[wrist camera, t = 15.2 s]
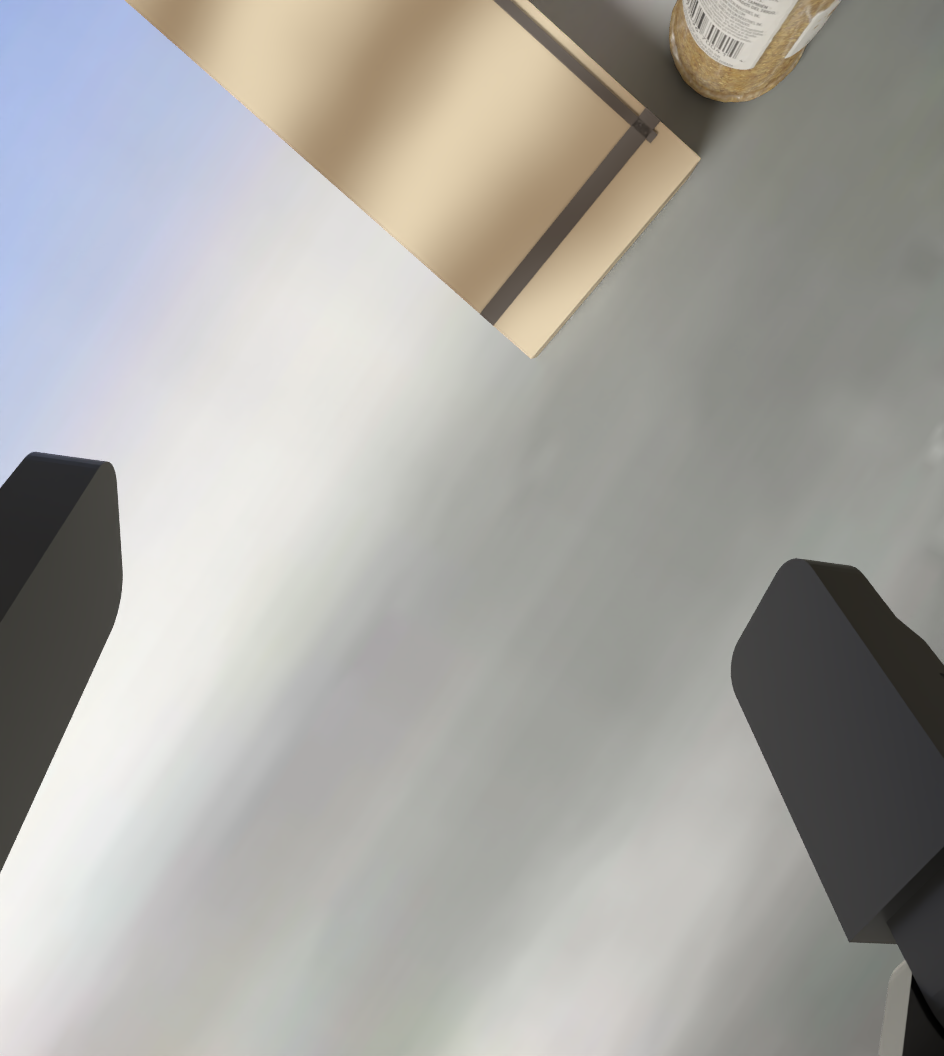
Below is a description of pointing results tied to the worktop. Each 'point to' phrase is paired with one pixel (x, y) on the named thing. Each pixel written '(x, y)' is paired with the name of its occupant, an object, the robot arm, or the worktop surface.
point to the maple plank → (453, 136)
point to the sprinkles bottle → (742, 43)
